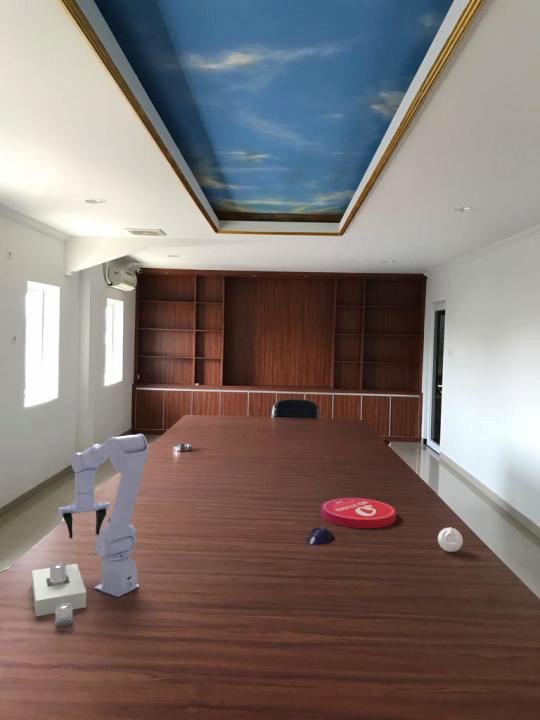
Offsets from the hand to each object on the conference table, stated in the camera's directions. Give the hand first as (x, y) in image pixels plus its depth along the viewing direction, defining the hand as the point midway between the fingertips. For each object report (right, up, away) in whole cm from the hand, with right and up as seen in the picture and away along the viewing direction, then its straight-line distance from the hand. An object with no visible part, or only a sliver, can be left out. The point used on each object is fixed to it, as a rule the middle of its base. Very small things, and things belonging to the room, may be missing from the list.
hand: (84, 535), depth 166 cm
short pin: (+6, -11, -32) cm, 35 cm away
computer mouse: (+74, -11, +30) cm, 81 cm away
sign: (+93, -11, +57) cm, 109 cm away
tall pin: (-1, -10, -18) cm, 21 cm away
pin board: (-1, -10, -18) cm, 21 cm away
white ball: (+118, -12, +20) cm, 120 cm away
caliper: (-1, -10, +22) cm, 24 cm away
